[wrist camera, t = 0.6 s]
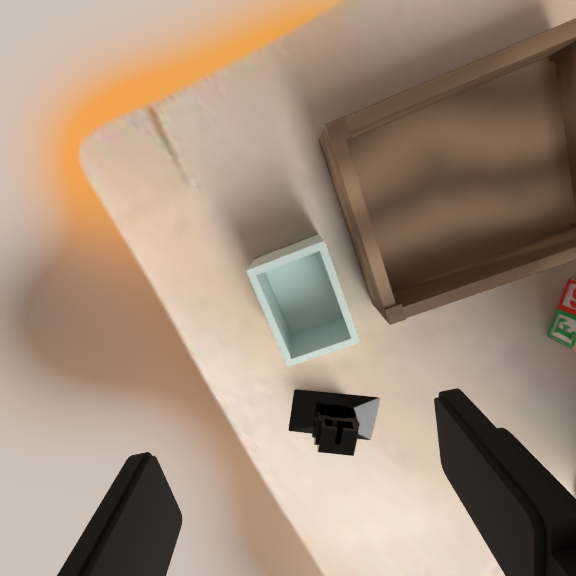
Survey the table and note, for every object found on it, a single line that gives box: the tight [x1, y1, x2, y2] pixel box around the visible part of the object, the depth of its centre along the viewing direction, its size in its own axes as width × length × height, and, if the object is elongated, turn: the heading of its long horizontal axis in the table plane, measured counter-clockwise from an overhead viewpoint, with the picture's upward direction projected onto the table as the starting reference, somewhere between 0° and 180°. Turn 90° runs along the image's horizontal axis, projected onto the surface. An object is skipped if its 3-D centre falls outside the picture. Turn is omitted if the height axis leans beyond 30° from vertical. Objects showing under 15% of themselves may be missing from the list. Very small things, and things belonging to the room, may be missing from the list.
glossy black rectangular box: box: [289, 389, 380, 456], centre depth 31 cm, size 12×7×5 cm, turn 83°
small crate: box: [246, 234, 360, 367], centre depth 27 cm, size 9×6×6 cm
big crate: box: [319, 19, 576, 325], centre depth 24 cm, size 16×20×5 cm
